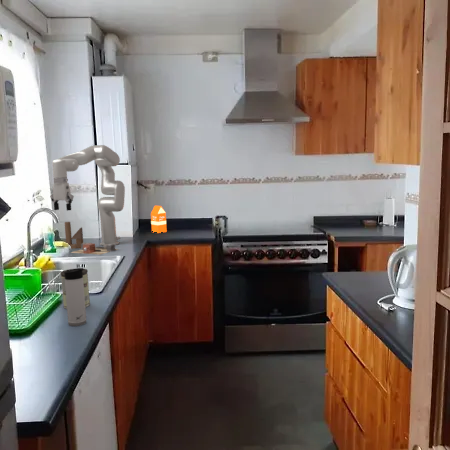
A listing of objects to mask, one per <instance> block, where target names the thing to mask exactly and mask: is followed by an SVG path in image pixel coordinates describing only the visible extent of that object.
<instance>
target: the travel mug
mask: <svg viewBox="0 0 450 450" xmlns="http://www.w3.org/2000/svg"><path fill="white" fill-rule="evenodd" d="M70 269H71V270H69V269H66V270H67V271H66V272H64V276H65V290H66V302H67V309H66V311H67V324H68V326H69V327H80V326H84V325H86V324H87V311H86V307H85V296H84V283H83V275H82V274H83V272H82V271H83V269H84V268H83V267H78V268H70Z"/></svg>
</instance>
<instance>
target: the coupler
mask: <svg viewBox="0 0 450 450" xmlns="http://www.w3.org/2000/svg"><path fill="white" fill-rule="evenodd" d="M86 243H87V244H84V245H83V252H84V253H93V252H96V251H95V247H96V243H92V242H86ZM84 253H83V254H84Z"/></svg>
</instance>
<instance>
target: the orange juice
mask: <svg viewBox="0 0 450 450" xmlns="http://www.w3.org/2000/svg"><path fill="white" fill-rule="evenodd" d="M150 224H151V232H152V231H153V232H152V233H154V232H157V233H156V234H161V232H163V233H167V231H168V230H167V212H166V211H165V210H164V208H163V207H162V205H154V206H153V209H152V210H151V212H150Z"/></svg>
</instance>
